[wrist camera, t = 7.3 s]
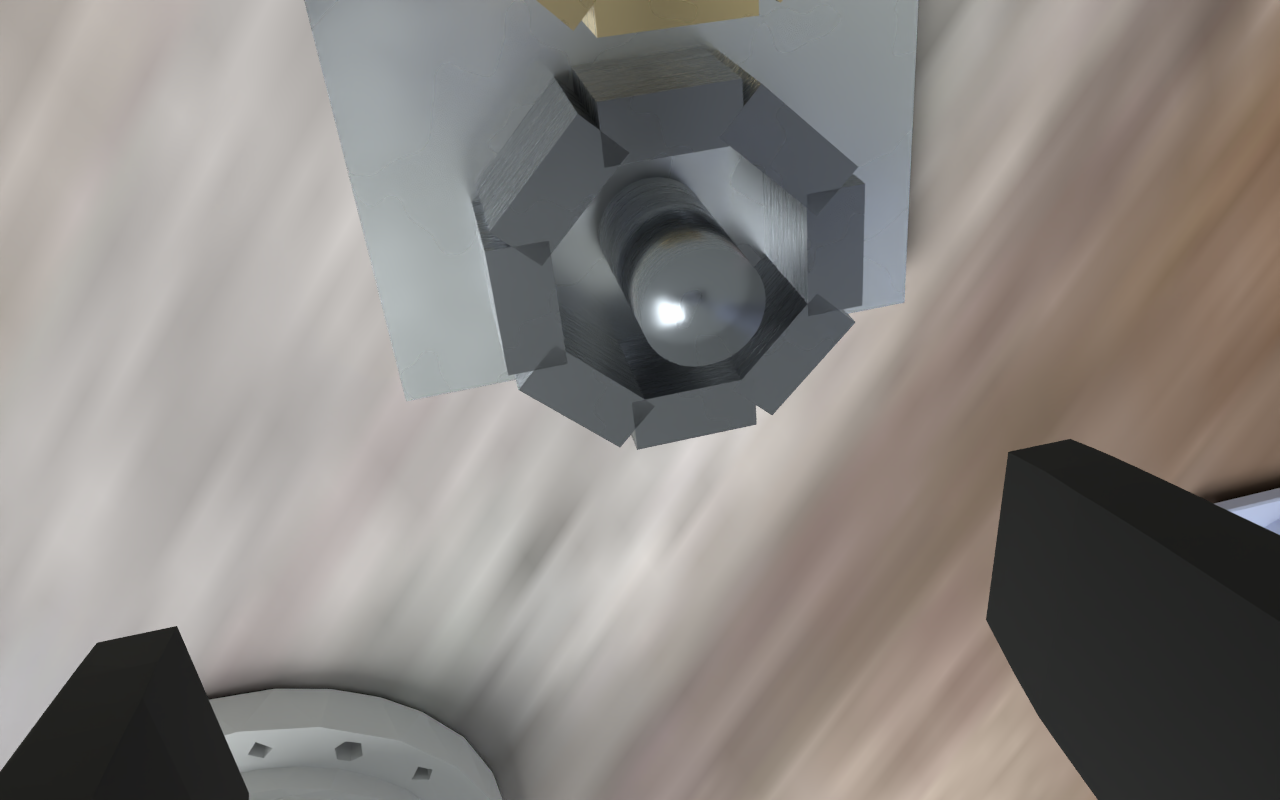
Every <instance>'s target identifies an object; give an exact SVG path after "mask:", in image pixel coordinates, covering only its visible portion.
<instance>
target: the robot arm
mask: <svg viewBox="0 0 1280 800" xmlns="http://www.w3.org/2000/svg"><path fill="white" fill-rule="evenodd" d="M986 620H987V622H988V624H989V626H990V628H991V630H992V632H993V634H994V636H995V638H996V639H997V641H998V643H999V645H1000V647H1001V649H1002V651H1003V653H1004V655H1005V657H1006V659H1007V660H1008V662H1009V664H1010V666H1011V668H1012V670H1013V672H1014V674H1015V675H1016V677H1017V679H1018V681H1019V683H1020V684H1021V686H1022V688H1023V690H1024V691H1025V693H1026V695H1027V697H1028V698H1029V700H1030V702H1031V704H1032V705H1033V707H1034V709H1035V711H1036V712H1037V714H1038V716H1039V718H1040V719H1041V720H1042V722H1043V723H1044V725H1045V726H1046V728H1047V729H1048V730H1049V732H1050V733H1051V735H1052V736H1053V738H1054V739H1055V740H1056V742H1057V743H1058V745H1059V746H1060V747H1061V749H1062V750H1063V752H1064V753H1065V754H1066V756H1067V757H1068V759H1069V760H1070V761H1071V763H1072V764H1073V766H1074V767H1075V768H1076V770H1077V771H1078V773H1079V774H1080V775H1081V777H1082V778H1083V780H1084V781H1085V782H1086V784H1087V785H1088V787H1089V788H1090V789H1091V791H1092V792H1093V794H1094V795H1095V796H1096V798H1097V799H1098V800H1280V488H1277V489H1273V490H1269V491H1264V492H1260V493H1256V494H1252V495H1248V496H1243V497H1239V498H1235V499H1231V500H1227V501H1223V502H1218V503H1214V504H1213V503H1211V502H1209V501H1207V500H1205V499H1203V498H1201V497H1198V496H1196V495H1194V494H1192V493H1190V492H1188V491H1186V490H1184V489H1182V488H1179V487H1177V486H1175V485H1173V484H1171V483H1169V482H1167V481H1165V480H1163V479H1160V478H1158V477H1156V476H1154V475H1152V474H1150V473H1148V472H1145V471H1143V470H1141V469H1139V468H1137V467H1135V466H1133V465H1130V464H1128V463H1126V462H1124V461H1121V460H1119V459H1117V458H1115V457H1113V456H1110V455H1108V454H1106V453H1103V452H1101V451H1099V450H1096V449H1094V448H1092V447H1089V446H1087V445H1084V444H1082V443H1079V442H1077V441H1074V440H1071V439H1068V440H1063V441H1058V442H1054V443H1049V444H1044V445H1039V446H1035V447H1030V448H1025V449H1020V450H1016V451H1011V452H1008V459H1007V467H1006V474H1005V482H1004V489H1003V497H1002V504H1001V512H1000V519H999V527H998V534H997V542H996V549H995V557H994V565H993V572H992V580H991V587H990V595H989V602H988V610H987V617H986ZM0 800H249V792H248V789H247V787H246V785H245V782H244V780H243V778H242V776H241V773H240V771H239V769H238V766H237V764H236V762H235V759H234V757H233V755H232V752H231V750H230V748H229V745H228V743H227V741H226V739H225V736H224V734H223V732H222V729H221V727H220V725H219V722H218V720H217V718H216V715H215V713H214V711H213V708H212V706H211V704H210V702H209V699H208V697H207V695H206V692H205V690H204V688H203V685H202V683H201V681H200V678H199V676H198V674H197V671H196V669H195V667H194V665H193V662H192V660H191V658H190V655H189V653H188V651H187V648H186V646H185V644H184V641H183V639H182V637H181V634H180V632H179V630H178V628H177V626H175V627H170V628H166V629H161V630H156V631H151V632H146V633H142V634H137V635H132V636H127V637H123V638H118V639H113V640H108V641H104V642H99V643H97V644H96V645H95V646H94V647H93V649H92V650H91V651H90V653H89V654H88V655H87V656H86V658H85V659H84V660H83V662H82V663H81V664H80V665H79V667H78V668H77V669H76V671H75V672H74V673H73V675H72V676H71V677H70V679H69V680H68V681H67V683H66V684H65V685H64V687H63V688H62V689H61V691H60V692H59V693H58V695H57V696H56V697H55V699H54V700H53V701H52V703H51V704H50V705H49V707H48V708H47V709H46V711H45V712H44V713H43V715H42V716H41V717H40V719H39V720H38V721H37V723H36V724H35V725H34V727H33V728H32V730H31V731H30V732H29V734H28V735H27V736H26V738H25V739H24V740H23V742H22V743H21V744H20V746H19V747H18V748H17V750H16V751H15V752H14V754H13V755H12V756H11V758H10V759H9V761H8V762H7V763H6V765H5V766H4V767H3V769H2V770H1V771H0Z"/></svg>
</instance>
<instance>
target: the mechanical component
mask: <svg viewBox="0 0 1280 800" xmlns="http://www.w3.org/2000/svg"><path fill="white" fill-rule="evenodd" d="M209 702H210V704H211V706H212V708H213V711H214V713H215V715H216V718H217V720H218V722H219V725H220V727H221V729H222V732H223V734H224V736H225V739H226V741H227V743H228V745H229V748H230V750H231V752H232V755H233V757H234V759H235V762H236V764H237V766H238V769H239V771H240V773H241V776H242V778H243V780H244V782H245V785H246V787H247V789H248V792H249V800H503V799H502V796H501V794H500V791H499V788H498V786H497V783H496V780H495V778H494V775H493V773H492V771H491V770H490V769H489V768H488V766H487V765H486V764H485V763H484V761H483V760H482V759H481V758H480V756H479V755H478V754H477V753H476V752H475V750H474V749H473V748H472V747H471V745H470V744H469V743H468V742H467V740H466V739H465V738H464V737H463V736H461V735H460V734H458V733H456V732H455V731H453V730H451V729H450V728H448V727H446V726H445V725H443V724H441V723H440V722H438V721H436V720H435V719H433V718H431V717H430V716H428V715H426V714H425V713H423V712H421V711H419V710H416V709H413V708H410V707H407V706H404V705H401V704H398V703H395V702H393V701H390V700H387V699H384V698H381V697H376V696H370V695H364V694H358V693H352V692H346V691H340V690H334V689H270V690H264V691H258V692H252V693H246V694H240V695H234V696H228V697H222V698H216V699H210V700H209Z"/></svg>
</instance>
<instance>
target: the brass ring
mask: <svg viewBox="0 0 1280 800" xmlns="http://www.w3.org/2000/svg"><path fill="white" fill-rule="evenodd" d="M536 1H538V2H539V3H540V4H541V5H542V6H544V7H545V8H546V9H547V10H549V11H550V12H551V13H552V14H553V15H555V16H556V17H557V18H558V19H560V20H561V21H562V22H563V23H564V24H566V25H567V26H568V27H569V28H570V29H572V30H573V31H574V30H575V28H576V27H577V26H578V24H579V23H580V22H581V20H582V21H583V23H584V24H585V25H586V26H587V27H588V28H589V29H590V30H591V31H592V32H593V34H594V35H595V36H596V37H597V38H600V37H607V36H614V35H621V34H629V33H636V32H643V31H651V30H658V29H665V28H672V27H680V26H687V25H694V24H701V23H709V22H716V21H723V20H731V19H738V18H745V17H752V16H759V0H536ZM776 1H778V2H780V3H781V2H782V0H776Z"/></svg>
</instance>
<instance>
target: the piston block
mask: <svg viewBox="0 0 1280 800" xmlns="http://www.w3.org/2000/svg"><path fill="white" fill-rule="evenodd" d="M304 1H305V5H306V9H307V13H308V17H309V21H310V25H311V29H312V33H313V37H314V41H315V45H316V49H317V53H318V56H319V60H320V64H321V68H322V72H323V76H324V80H325V84H326V88H327V92H328V96H329V100H330V104H331V108H332V111H333V115H334V119H335V123H336V127H337V131H338V135H339V139H340V143H341V147H342V151H343V155H344V159H345V163H346V167H347V170H348V174H349V178H350V182H351V186H352V190H353V194H354V198H355V202H356V206H357V210H358V214H359V218H360V222H361V226H362V229H363V233H364V237H365V241H366V245H367V249H368V253H369V257H370V261H371V265H372V269H373V273H374V277H375V281H376V284H377V288H378V292H379V296H380V300H381V304H382V308H383V312H384V316H385V320H386V324H387V328H388V332H389V336H390V340H391V343H392V347H393V351H394V355H395V359H396V363H397V367H398V371H399V375H400V379H401V383H402V387H403V391H404V395H405V398H406V401H410V400H415V399H420V398H425V397H431V396H436V395H441V394H446V393H451V392H456V391H461V390H466V389H471V388H476V387H481V386H486V385H491V384H496V383H501V382H506V381H511V380H516V382H517V386H518V390H520V391H522V392H523V393H525V394H527V395H529V396H530V397H532V398H534V399H536V400H537V401H539V402H541V403H543V404H545V405H546V406H548V407H550V408H552V409H553V410H555V411H557V412H559V413H560V414H562V415H564V416H566V417H567V418H569V419H571V420H573V421H574V422H576V423H578V424H580V425H581V426H583V427H585V428H587V429H589V430H590V431H592V432H594V433H596V434H597V435H599V436H601V437H603V438H604V439H606V440H608V441H610V442H611V443H613V444H615V445H617V446H618V447H621V446H622V444H623V443H624V442H625V441H626V440H627V439H628V437H629V436H630V435H631V436H632V438H633V440H634V443H635V445H636V448H637V450H638V449H643V448H647V447H652V446H657V445H662V444H666V443H671V442H676V441H680V440H685V439H690V438H695V437H699V436H704V435H709V434H713V433H718V432H723V431H728V430H732V429H737V428H742V427H746V426H751V425H756V405H757V406H759V407H760V408H762V409H763V410H765V411H766V412H768V413H769V414H771V415H773V414H774V413H775V412H776V410H777V409H778V408H779V407H780V406H781V405H782V404H783V403H784V401H785V400H786V399H787V398H788V397H789V396H790V395H791V394H792V393H793V391H794V390H795V389H796V388H797V387H798V386H799V385H800V384H801V382H802V381H803V380H804V379H805V378H806V377H807V376H808V375H809V374H810V372H811V371H812V370H813V369H814V368H815V367H816V366H817V365H818V363H819V362H820V361H821V360H822V359H823V358H824V357H825V356H826V355H827V353H828V352H829V351H830V350H831V349H832V348H833V347H834V346H835V344H836V343H837V342H838V341H839V340H840V339H841V338H842V337H843V336H844V334H845V333H846V332H847V331H848V330H849V329H850V328H851V327H852V325H853V324H854V323H855V321H854V320H853V319H852V318H851V317H850V316H849V315H848V313H853V312H858V311H863V310H868V309H873V308H879V307H884V306H889V305H894V304H899V303H904V298H905V277H906V256H907V235H908V214H909V193H910V171H911V150H912V129H913V108H914V87H915V66H916V44H917V23H918V2H919V0H782V2H781V3H780V2H778V1H776V0H759V16H752V17H745V18H738V19H731V20H723V21H716V22H709V23H701V24H694V25H687V26H680V27H672V28H665V29H658V30H651V31H643V32H636V33H629V34H621V35H614V36H607V37H600V38H597V37H596V36H595V35H594V34H593V32H592V31H591V30H590V29H589V28H588V27H587V26H586V25H585V24H584V23H583V21H582V20H581V22H580V23H579V24H578V26H577V27H576V28H575V30H574V31H573V30H572V29H570V28H569V27H568V26H567V25H566V24H564V23H563V22H562V21H561V20H560V19H558V18H557V17H556V16H555V15H553V14H552V13H551V12H550V11H549V10H547V9H546V8H545V7H544V6H542V5H541V4H540V3H539V2H538V1H536V0H304Z"/></svg>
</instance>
